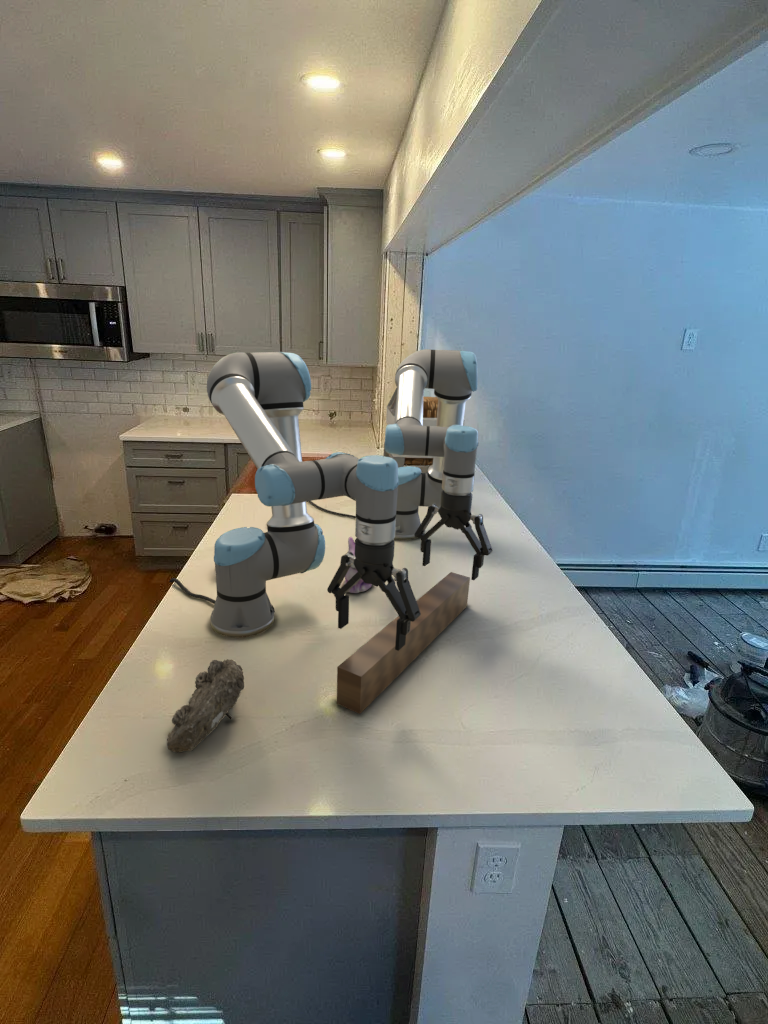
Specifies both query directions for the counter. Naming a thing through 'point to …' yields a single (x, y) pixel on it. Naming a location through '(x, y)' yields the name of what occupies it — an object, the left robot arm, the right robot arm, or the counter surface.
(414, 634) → the beam
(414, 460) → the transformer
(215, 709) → the fossil
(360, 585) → the figurine
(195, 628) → the counter surface
